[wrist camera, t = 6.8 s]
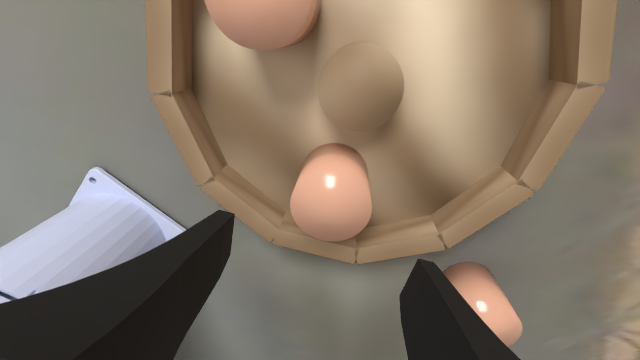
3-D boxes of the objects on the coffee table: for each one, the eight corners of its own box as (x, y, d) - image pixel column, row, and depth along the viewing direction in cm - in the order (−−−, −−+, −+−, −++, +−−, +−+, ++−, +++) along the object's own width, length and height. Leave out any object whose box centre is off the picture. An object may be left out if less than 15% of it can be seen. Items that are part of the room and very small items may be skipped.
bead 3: (458, 309, 23) (477, 360, 19) (425, 281, 22) (439, 328, 18) (504, 284, 21) (535, 334, 18) (472, 253, 20) (497, 298, 17)
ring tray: (354, 277, 22) (354, 308, 20) (117, 87, 18) (78, 95, 15) (649, 74, 15) (710, 82, 12) (368, -369, 10) (374, -509, 7)
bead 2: (374, 194, 18) (380, 233, 15) (314, 208, 19) (305, 247, 15) (358, 134, 17) (360, 161, 13) (293, 153, 17) (278, 182, 14)
